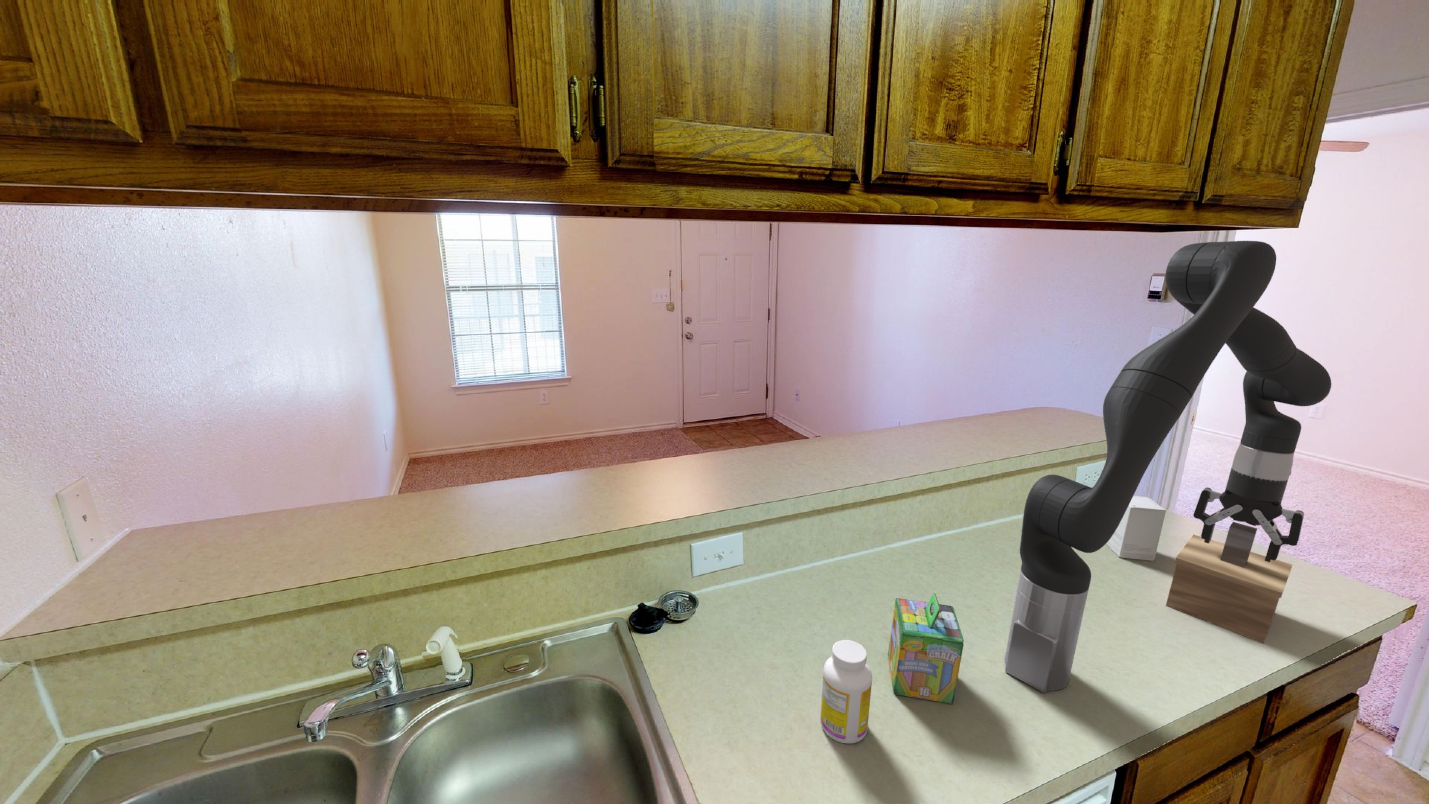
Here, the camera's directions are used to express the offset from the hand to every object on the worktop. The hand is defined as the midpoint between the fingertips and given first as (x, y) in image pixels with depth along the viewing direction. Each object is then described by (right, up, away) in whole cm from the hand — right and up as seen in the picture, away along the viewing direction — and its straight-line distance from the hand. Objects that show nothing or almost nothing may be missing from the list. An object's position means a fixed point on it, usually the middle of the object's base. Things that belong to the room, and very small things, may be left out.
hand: (1236, 550), depth 104 cm
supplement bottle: (-80, -19, -25) cm, 86 cm away
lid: (0, -3, +1) cm, 3 cm away
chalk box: (-66, -17, -16) cm, 70 cm away
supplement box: (-2, -7, +24) cm, 25 cm away
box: (0, -12, +3) cm, 13 cm away
